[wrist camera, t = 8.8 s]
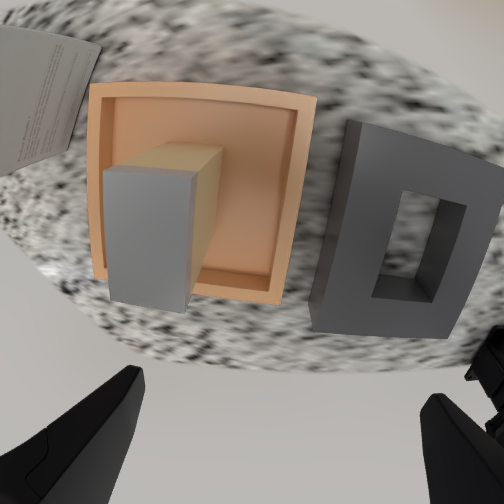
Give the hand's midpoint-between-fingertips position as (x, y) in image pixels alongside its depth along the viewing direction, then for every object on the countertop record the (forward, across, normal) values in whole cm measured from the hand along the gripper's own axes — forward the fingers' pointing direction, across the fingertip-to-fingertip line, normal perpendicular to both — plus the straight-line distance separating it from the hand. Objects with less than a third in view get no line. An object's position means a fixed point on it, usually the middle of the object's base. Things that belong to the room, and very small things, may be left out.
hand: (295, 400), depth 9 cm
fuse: (+11, +6, -3) cm, 13 cm away
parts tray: (+12, +6, -2) cm, 13 cm away
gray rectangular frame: (+12, -7, -2) cm, 14 cm away
